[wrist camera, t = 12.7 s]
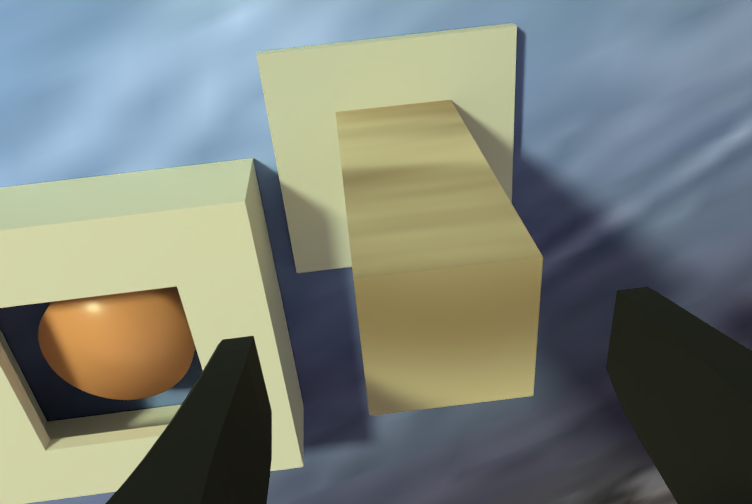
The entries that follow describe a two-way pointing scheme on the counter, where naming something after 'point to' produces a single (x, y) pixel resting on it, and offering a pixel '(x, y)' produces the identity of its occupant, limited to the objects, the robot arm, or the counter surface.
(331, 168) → the rubber mat
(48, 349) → the button
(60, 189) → the cream square frame
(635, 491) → the counter surface
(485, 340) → the wood grain block
